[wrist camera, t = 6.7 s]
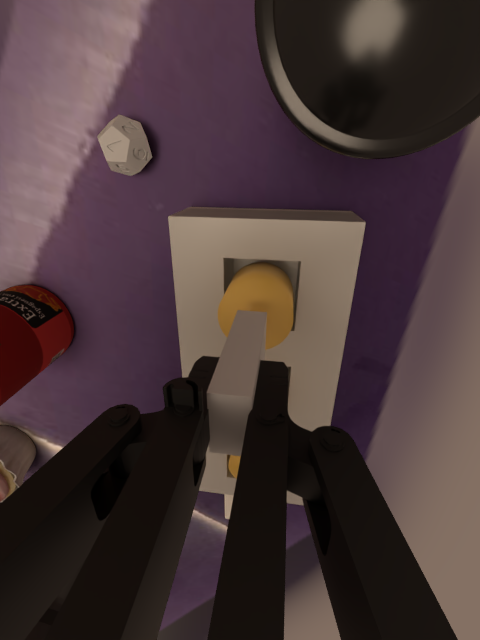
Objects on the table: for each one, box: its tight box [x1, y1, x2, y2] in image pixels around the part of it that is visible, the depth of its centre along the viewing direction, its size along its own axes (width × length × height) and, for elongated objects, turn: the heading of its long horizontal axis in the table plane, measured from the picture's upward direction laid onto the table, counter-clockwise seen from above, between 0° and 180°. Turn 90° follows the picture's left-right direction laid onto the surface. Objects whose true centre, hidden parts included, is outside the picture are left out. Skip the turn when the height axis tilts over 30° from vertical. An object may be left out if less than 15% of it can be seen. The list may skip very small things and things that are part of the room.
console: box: [168, 207, 366, 505], centre depth 27 cm, size 26×12×5 cm, turn 179°
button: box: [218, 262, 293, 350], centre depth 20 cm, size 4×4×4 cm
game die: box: [97, 115, 152, 176], centre depth 22 cm, size 4×4×3 cm
